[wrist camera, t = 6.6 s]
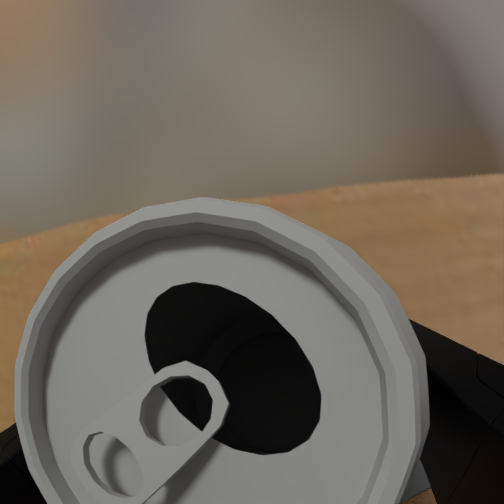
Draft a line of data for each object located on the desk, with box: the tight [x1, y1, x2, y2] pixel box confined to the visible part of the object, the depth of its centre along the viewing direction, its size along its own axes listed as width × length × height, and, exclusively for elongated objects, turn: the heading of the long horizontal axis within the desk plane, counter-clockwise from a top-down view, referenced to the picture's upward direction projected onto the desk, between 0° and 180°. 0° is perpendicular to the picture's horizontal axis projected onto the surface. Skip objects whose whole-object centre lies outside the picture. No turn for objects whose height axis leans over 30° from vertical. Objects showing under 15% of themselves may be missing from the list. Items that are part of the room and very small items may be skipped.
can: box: [15, 197, 430, 504], centre depth 9 cm, size 8×8×12 cm
